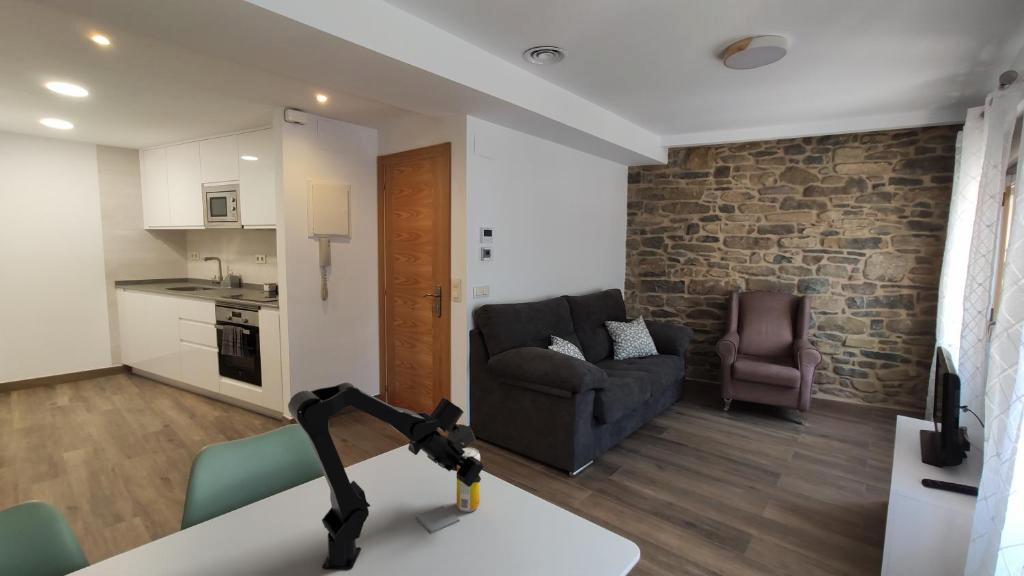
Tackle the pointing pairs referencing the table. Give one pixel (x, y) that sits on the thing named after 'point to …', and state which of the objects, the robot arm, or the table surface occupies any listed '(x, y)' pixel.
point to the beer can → (468, 495)
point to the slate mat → (437, 519)
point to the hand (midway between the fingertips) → (472, 475)
